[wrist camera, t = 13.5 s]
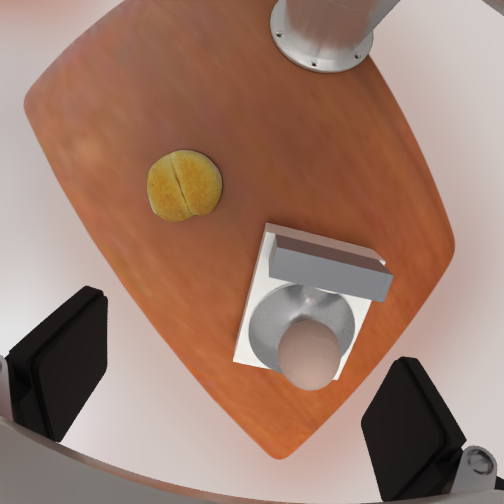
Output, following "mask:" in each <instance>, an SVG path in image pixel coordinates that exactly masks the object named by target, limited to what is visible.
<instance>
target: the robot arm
mask: <svg viewBox="0 0 504 504" xmlns="http://www.w3.org/2000/svg"><path fill="white" fill-rule="evenodd" d="M399 1H400V0H279V1H278V2H277V3H276V5H275V6H274V9H273V11H272V13H271V19H270V29H271V34H272V37H273V40H274V42H275V44H276V46H277V47H278V49H279V50H280V51H281V52H282V53H283V54H284V55H285V56H286V57H287V58H288V59H289V60H290V61H292V62H293V63H295V64H296V65H298V66H300V67H302V68H304V69H307V70H310V71H313V72H319V73H339V72H344V71H347V70H349V69H352V68H353V67H355V66H356V65H358V64H359V63H361V62H362V61H363V60H364V59H365V57H366V56H367V55H368V53H369V51H370V49H371V47H372V43H373V29H374V28H375V27H376V26H377V25H378V24H379V23H380V21H381V20H382V19H383V18H384V17H385V16H386V15H387V14H388V13H389V12H390V11H391V10H392V9H393V7H394V6H395V5H396V4H397V3H398V2H399ZM482 1H484V2H485V3H486V4H488V5H489V6H491V7H492V8H493V9H495V10H496V11H497V12H499V13H500V14H502V15H503V16H504V0H482ZM277 35H281V37H277ZM354 56H356V57H357V58H358V59H356V58H355V57H354ZM312 64H315V65H316V66H315V67H313V66H312ZM107 310H108V299H107V297H106V296H104V294H103V291H102V290H99V289H96V288H92V287H89V286H84V287H83V288H82V289H80V290H79V291H78V292H77V293H76V294H74V295H73V296H72V297H71V298H70V299H68V300H67V301H66V302H65V303H63V304H62V305H61V306H60V307H59V308H58V309H56V310H55V311H54V312H53V313H52V314H50V315H49V316H48V317H47V318H46V319H45V320H44V321H43V322H41V323H40V324H39V325H38V326H37V327H35V328H34V329H33V330H32V331H31V332H30V333H29V334H27V335H26V336H25V337H24V338H23V339H22V340H21V341H20V342H19V343H18V344H16V345H15V346H14V347H13V348H12V349H11V350H10V351H9V354H8V355H7V356H6V357H5V358H3V356H1V355H0V504H303V503H286V502H274V501H264V500H255V499H248V498H240V497H234V496H228V495H222V494H216V493H211V492H206V491H200V490H196V489H191V488H187V487H183V486H179V485H175V484H171V483H167V482H163V481H160V480H156V479H152V478H149V477H146V476H142V475H139V474H136V473H133V472H130V471H126V470H124V469H121V468H118V467H115V466H112V465H110V464H107V463H104V462H102V461H99V460H97V459H94V458H92V457H89V456H86V455H84V454H81V453H79V452H77V451H74V450H72V449H69V448H67V447H65V446H63V445H61V444H58V443H59V442H61V441H62V439H63V438H64V436H65V434H66V433H67V431H68V430H69V428H70V426H71V425H72V423H73V422H74V420H75V419H76V417H77V415H78V414H79V412H80V410H81V409H82V407H83V406H84V404H85V403H86V401H87V400H88V398H89V397H90V395H91V394H92V392H93V391H94V389H95V387H96V386H97V384H98V383H99V381H100V380H101V378H102V377H103V375H104V374H105V372H106V369H107V312H108V311H107ZM361 427H362V431H363V434H364V437H365V441H366V444H367V448H368V451H369V455H370V458H371V462H372V466H373V469H374V473H375V476H376V480H377V484H378V487H379V492H380V495H381V499H382V501H383V502H379V503H362V504H504V479H502V478H500V477H498V476H496V475H497V463H496V460H495V458H494V457H493V455H492V454H491V453H490V452H489V451H487V450H486V449H484V448H482V447H479V446H469V447H467V448H466V449H465V450H464V451H463V450H462V448H461V447H462V445H463V444H464V443H465V442H466V438H465V436H464V434H463V432H462V431H461V429H460V427H459V426H458V424H457V423H456V420H455V419H454V417H453V415H452V413H451V412H450V410H449V408H448V407H447V405H446V403H445V402H444V400H443V398H442V397H441V395H440V394H439V392H438V391H437V389H436V387H435V385H434V384H433V382H432V381H431V379H430V378H429V376H428V374H427V373H426V371H425V370H424V368H423V366H422V365H421V363H420V362H419V360H418V359H416V358H411V357H400V358H399V359H398V360H395V361H394V362H393V364H392V365H391V367H390V369H389V371H388V373H387V375H386V377H385V379H384V381H383V383H382V384H381V386H380V388H379V390H378V391H377V393H376V395H375V397H374V398H373V400H372V402H371V403H370V405H369V407H368V409H367V410H366V412H365V414H364V415H363V417H362V420H361ZM56 442H58V443H56Z"/></svg>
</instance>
